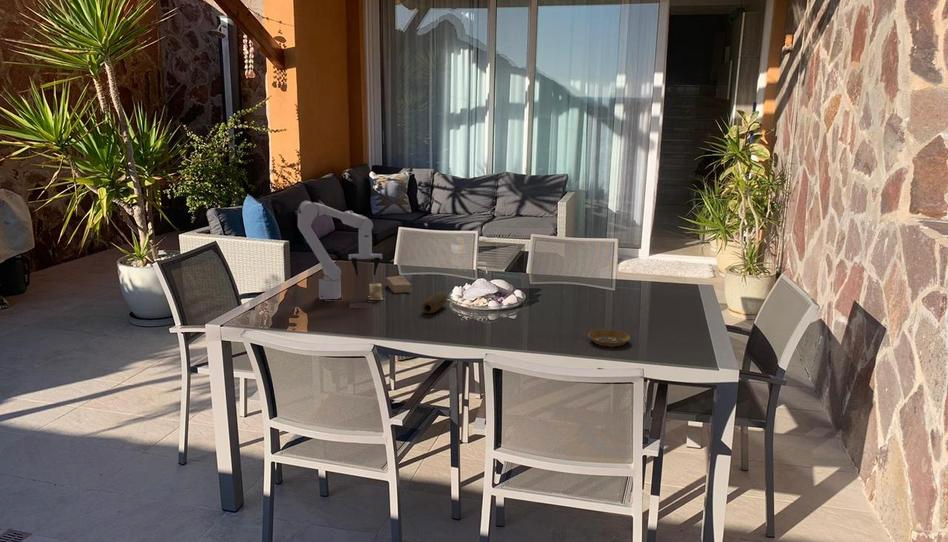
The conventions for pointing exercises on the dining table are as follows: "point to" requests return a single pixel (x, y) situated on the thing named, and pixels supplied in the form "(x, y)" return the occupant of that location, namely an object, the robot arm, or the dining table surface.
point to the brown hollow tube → (434, 302)
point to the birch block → (375, 291)
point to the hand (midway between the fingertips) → (365, 274)
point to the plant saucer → (609, 337)
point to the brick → (398, 284)
